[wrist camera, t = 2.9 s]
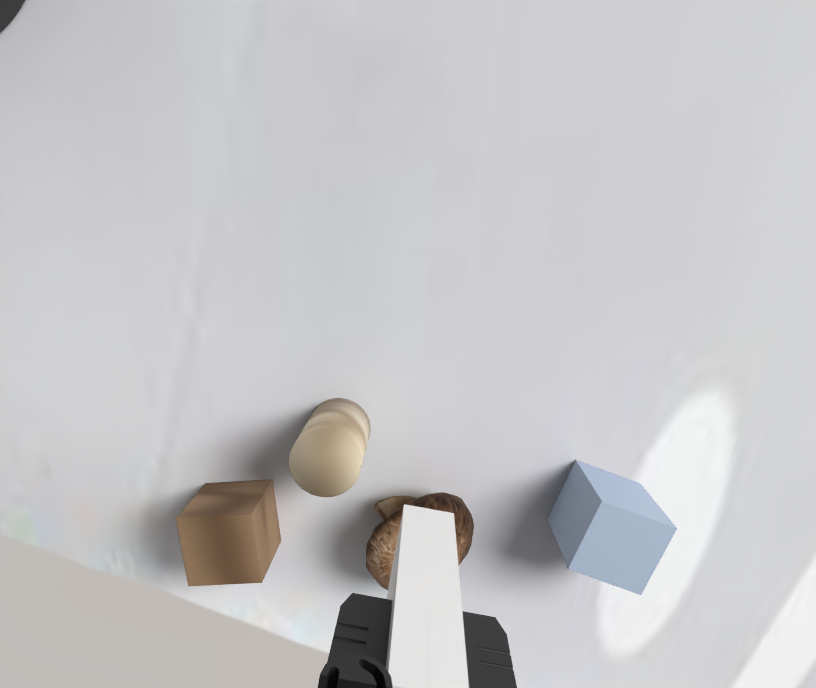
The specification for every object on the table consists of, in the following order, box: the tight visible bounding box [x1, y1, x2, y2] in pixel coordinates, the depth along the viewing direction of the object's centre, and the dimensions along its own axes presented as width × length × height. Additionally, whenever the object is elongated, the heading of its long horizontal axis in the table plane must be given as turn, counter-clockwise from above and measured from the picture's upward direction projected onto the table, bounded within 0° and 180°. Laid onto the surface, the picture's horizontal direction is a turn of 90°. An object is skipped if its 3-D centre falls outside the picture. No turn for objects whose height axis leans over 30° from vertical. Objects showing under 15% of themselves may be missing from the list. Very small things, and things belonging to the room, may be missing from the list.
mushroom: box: [366, 493, 474, 590], centre depth 38 cm, size 8×8×6 cm
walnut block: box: [176, 479, 281, 586], centre depth 38 cm, size 5×5×5 cm
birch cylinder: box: [289, 398, 370, 497], centre depth 36 cm, size 4×4×6 cm
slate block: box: [547, 460, 677, 595], centre depth 37 cm, size 5×5×6 cm
